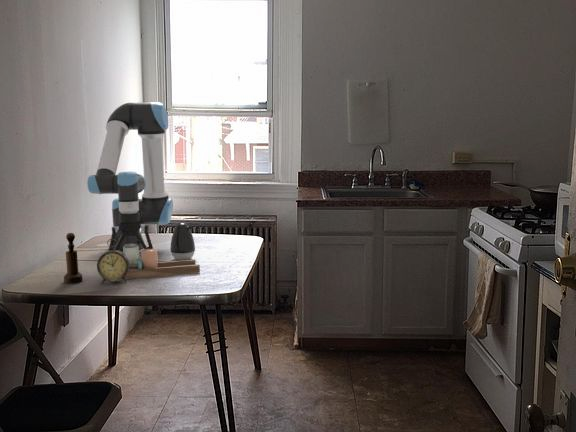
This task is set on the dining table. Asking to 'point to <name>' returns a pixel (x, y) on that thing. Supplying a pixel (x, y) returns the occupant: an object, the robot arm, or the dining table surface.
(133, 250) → the jar
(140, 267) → the pusher
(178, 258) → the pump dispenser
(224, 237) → the dining table surface
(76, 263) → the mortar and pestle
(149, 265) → the jar in lane
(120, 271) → the alarm clock
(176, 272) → the lane
